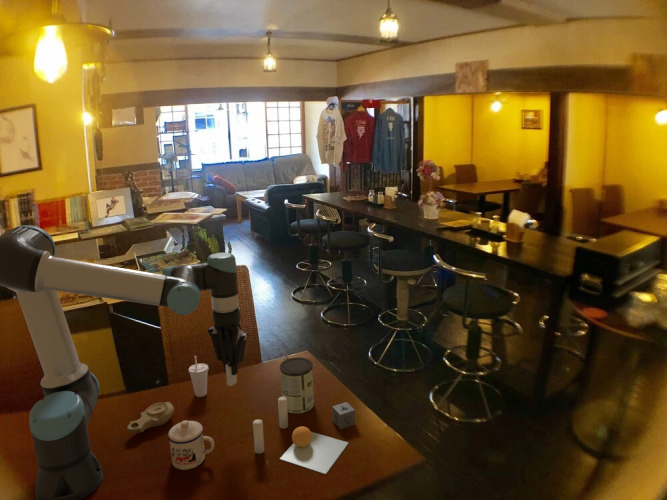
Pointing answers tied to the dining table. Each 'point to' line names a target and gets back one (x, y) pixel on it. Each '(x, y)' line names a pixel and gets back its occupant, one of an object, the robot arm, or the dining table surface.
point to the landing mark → (316, 453)
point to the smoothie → (199, 378)
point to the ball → (301, 436)
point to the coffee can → (297, 384)
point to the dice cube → (343, 415)
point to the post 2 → (283, 412)
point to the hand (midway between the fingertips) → (232, 383)
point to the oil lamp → (152, 417)
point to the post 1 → (258, 436)
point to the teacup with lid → (188, 444)
